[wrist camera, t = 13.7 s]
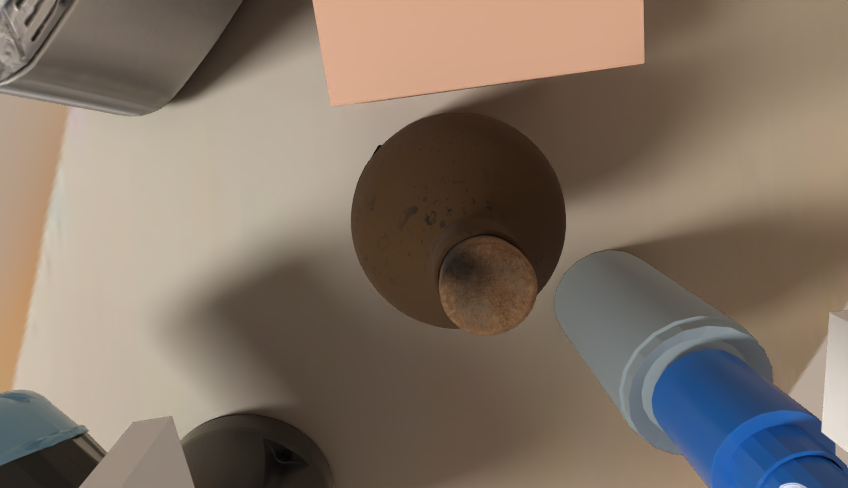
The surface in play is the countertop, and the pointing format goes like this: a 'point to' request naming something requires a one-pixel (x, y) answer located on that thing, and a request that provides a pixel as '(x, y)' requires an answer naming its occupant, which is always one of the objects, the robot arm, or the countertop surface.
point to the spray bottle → (690, 378)
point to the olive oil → (459, 222)
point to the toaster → (106, 50)
